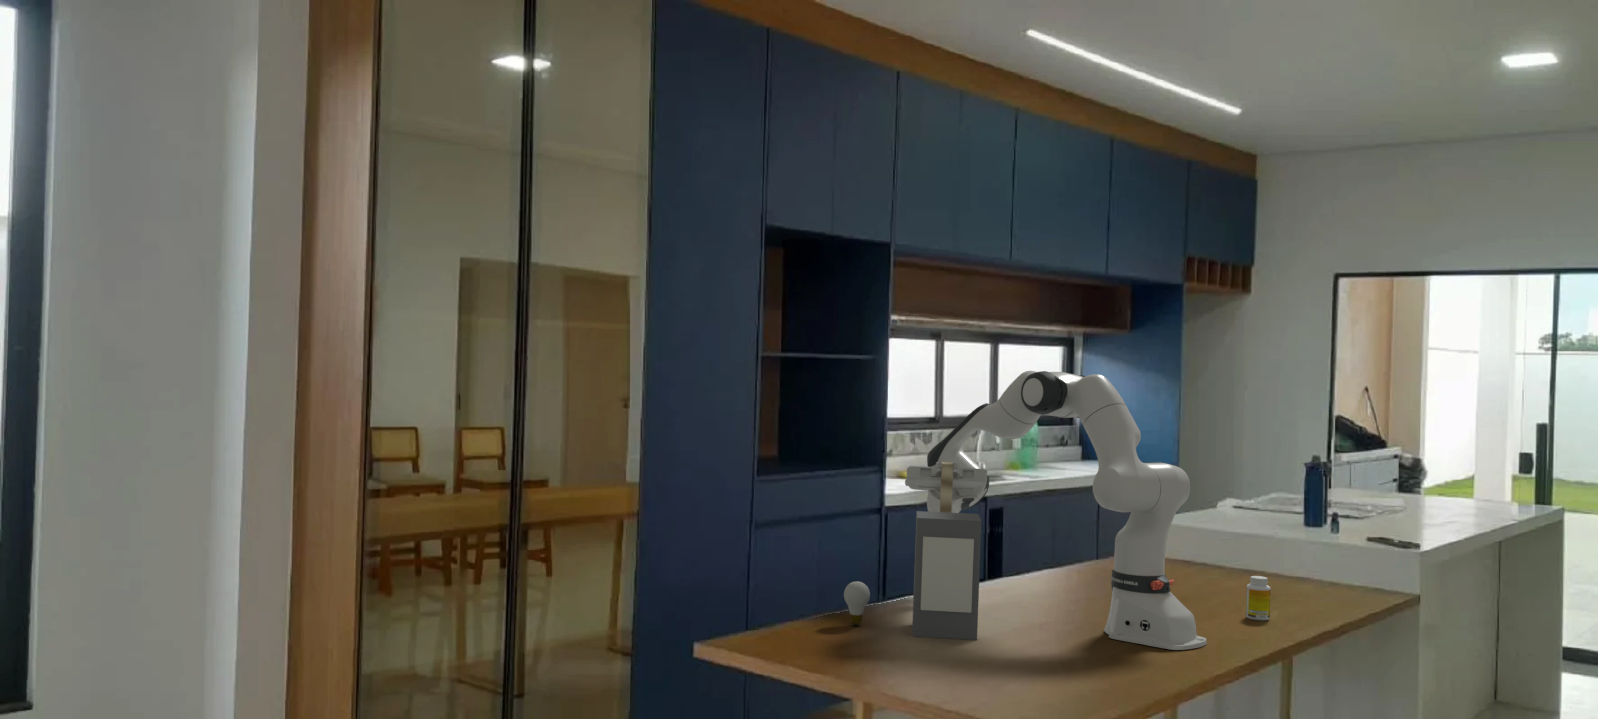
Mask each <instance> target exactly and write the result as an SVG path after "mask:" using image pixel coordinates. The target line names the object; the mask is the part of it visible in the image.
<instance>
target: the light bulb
mask: <svg viewBox="0 0 1598 719" xmlns="http://www.w3.org/2000/svg"><path fill="white" fill-rule="evenodd" d="M870 597H871V592H870V589H869V587H868V586H867V585H866V584H865V583H864V582H862V581H858V580H857V581H851V582H849V583H848V584H847V585H846V586H845V589H844V591H843V598H844V601H845V603H846V605H847V608H848V611H849V616H850V618H849V622H850V623H851V625H852V626H854V627H857V626H860V624H861V623H862V621H863V619H862V618H863V614H864V611H865V608H866V606H867V604H868V602H869V601H870V599H871V598H870Z"/></svg>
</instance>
